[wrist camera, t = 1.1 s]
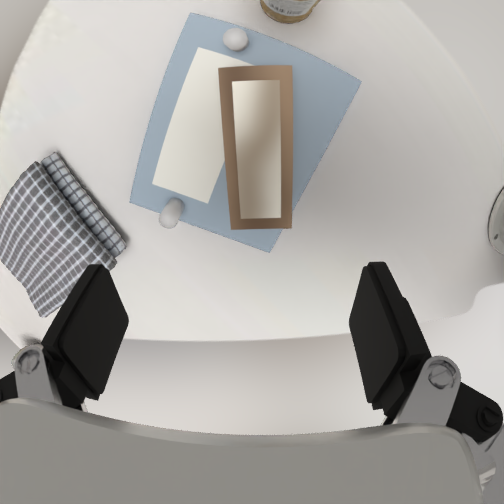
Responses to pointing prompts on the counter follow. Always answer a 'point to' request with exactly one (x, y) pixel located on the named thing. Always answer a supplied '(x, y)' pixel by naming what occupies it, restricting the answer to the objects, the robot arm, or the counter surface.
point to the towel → (53, 233)
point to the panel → (210, 125)
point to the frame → (258, 144)
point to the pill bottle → (288, 9)
